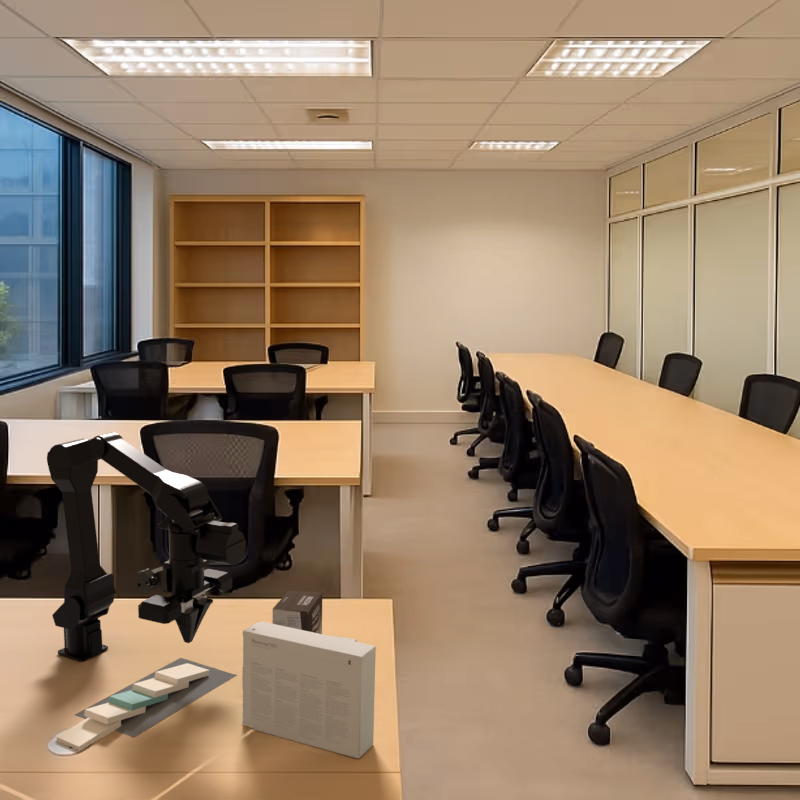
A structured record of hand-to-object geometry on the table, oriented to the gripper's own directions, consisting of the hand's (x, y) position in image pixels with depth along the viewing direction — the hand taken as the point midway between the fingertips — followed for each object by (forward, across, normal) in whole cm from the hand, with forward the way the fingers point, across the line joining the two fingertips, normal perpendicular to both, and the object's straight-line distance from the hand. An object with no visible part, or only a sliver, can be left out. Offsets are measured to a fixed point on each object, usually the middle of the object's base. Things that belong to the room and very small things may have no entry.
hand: (188, 642), depth 154 cm
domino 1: (+6, +18, -2) cm, 19 cm away
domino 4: (+6, -2, 0) cm, 6 cm away
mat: (+7, +7, -1) cm, 10 cm away
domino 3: (+6, +3, 0) cm, 7 cm away
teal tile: (+6, +8, -1) cm, 10 cm away
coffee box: (+7, -5, +19) cm, 21 cm away
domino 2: (+6, +13, -1) cm, 14 cm away
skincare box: (+7, +6, +28) cm, 29 cm away
